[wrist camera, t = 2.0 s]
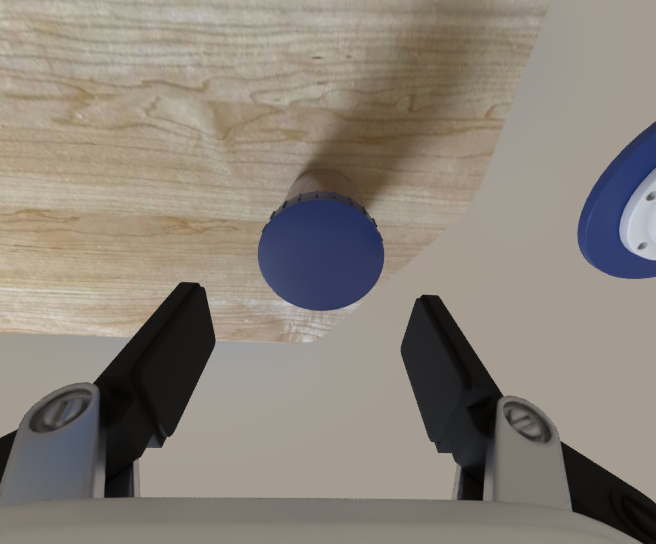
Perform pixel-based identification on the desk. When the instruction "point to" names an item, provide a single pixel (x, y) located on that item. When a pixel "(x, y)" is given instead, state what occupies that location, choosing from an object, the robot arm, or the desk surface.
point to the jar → (324, 184)
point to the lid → (321, 251)
